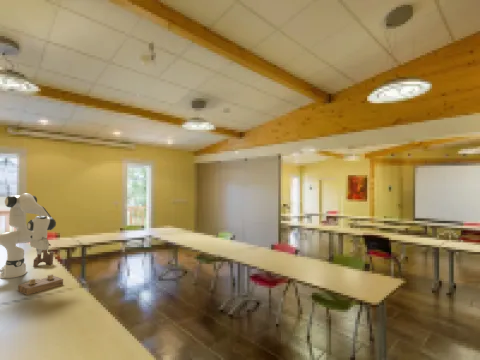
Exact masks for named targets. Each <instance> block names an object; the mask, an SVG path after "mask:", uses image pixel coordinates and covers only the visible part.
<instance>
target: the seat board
mask: <svg viewBox="0 0 480 360" xmlns="http://www.w3.org/2000/svg"><path fill="white" fill-rule="evenodd" d="M47 279H48V276H47V277H44V278H41V279H37V280H36V279H35V285H32V286H30V285H29V282H25V283H21V284H18V287H17V288H18V289H17V291H18V292H19V293H22V294H25V295H27V296H29V295H33V294H35V293H38V292H42V291H45V290H49V289H51V288H54V287H55V286H56V287H58V286H61V285H64V278H62V277H59V276H56V275H53V280H50V281H47Z"/></svg>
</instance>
